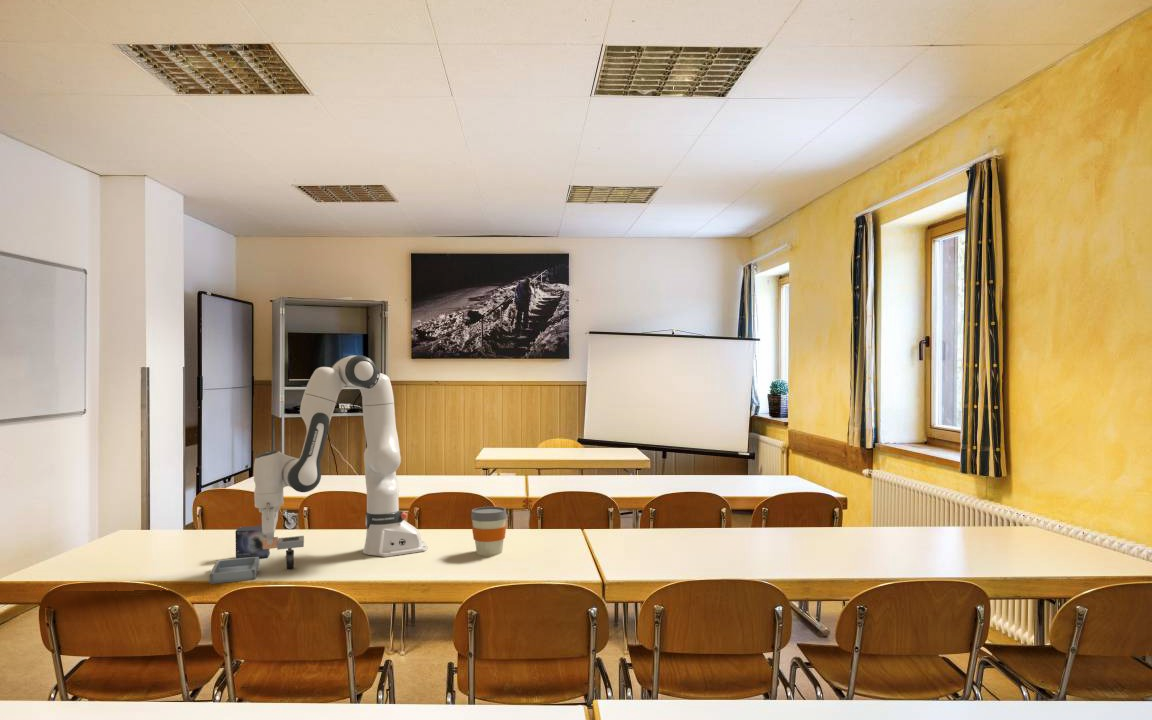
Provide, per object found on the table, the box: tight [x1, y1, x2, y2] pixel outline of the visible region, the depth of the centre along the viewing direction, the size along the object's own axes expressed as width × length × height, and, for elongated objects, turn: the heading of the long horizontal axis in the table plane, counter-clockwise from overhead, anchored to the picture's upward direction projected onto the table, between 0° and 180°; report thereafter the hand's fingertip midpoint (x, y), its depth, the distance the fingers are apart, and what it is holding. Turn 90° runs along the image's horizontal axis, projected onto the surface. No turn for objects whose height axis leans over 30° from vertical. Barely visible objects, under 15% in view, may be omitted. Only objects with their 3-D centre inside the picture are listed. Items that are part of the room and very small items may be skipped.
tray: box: [209, 557, 260, 585], centre depth 243 cm, size 13×18×3 cm
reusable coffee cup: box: [470, 506, 508, 557], centre depth 265 cm, size 13×13×15 cm
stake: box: [285, 548, 295, 571], centre depth 248 cm, size 2×3×7 cm
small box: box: [234, 525, 271, 560], centre depth 264 cm, size 11×6×10 cm, turn 105°
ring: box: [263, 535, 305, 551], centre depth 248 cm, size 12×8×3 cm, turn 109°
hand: (270, 542), depth 246 cm, fingers closed on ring, 3 cm apart
